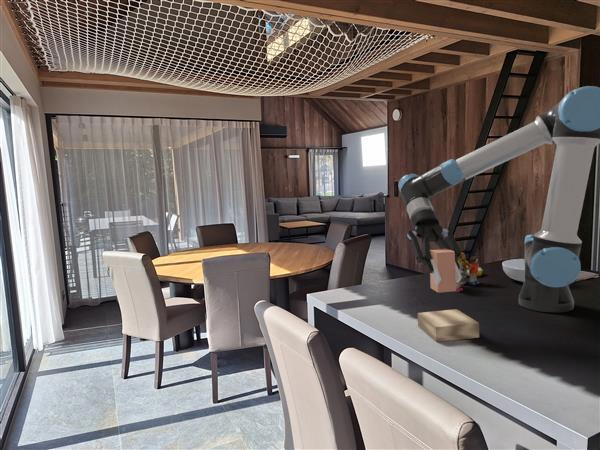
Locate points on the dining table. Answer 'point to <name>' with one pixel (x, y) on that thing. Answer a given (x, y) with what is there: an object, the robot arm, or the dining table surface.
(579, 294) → the dining table surface
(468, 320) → the plinth
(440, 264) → the block
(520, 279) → the serving bowl
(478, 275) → the decorated donut
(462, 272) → the doll family
